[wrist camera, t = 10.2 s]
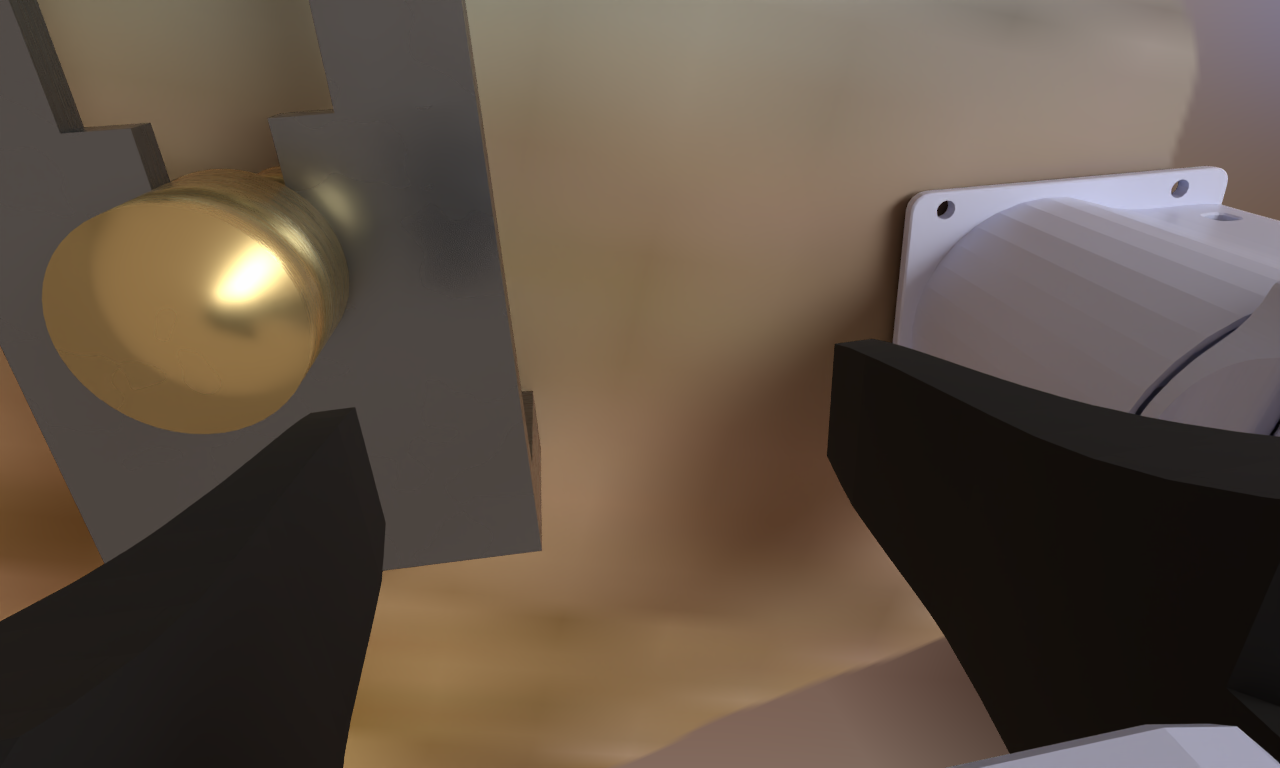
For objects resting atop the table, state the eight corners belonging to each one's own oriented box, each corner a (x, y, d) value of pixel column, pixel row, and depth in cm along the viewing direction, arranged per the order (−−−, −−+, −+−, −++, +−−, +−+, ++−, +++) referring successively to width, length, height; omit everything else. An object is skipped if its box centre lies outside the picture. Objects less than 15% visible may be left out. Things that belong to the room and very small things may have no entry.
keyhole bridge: (418, -447, 14) (365, -653, 10) (540, 448, 23) (541, 550, 19) (-147, -440, 14) (-481, -661, 9) (204, 486, 22) (123, 603, 18)
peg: (373, 140, 18) (288, 205, 12) (391, 300, 19) (327, 431, 13) (191, 137, 17) (4, 203, 11) (227, 302, 19) (83, 438, 13)
